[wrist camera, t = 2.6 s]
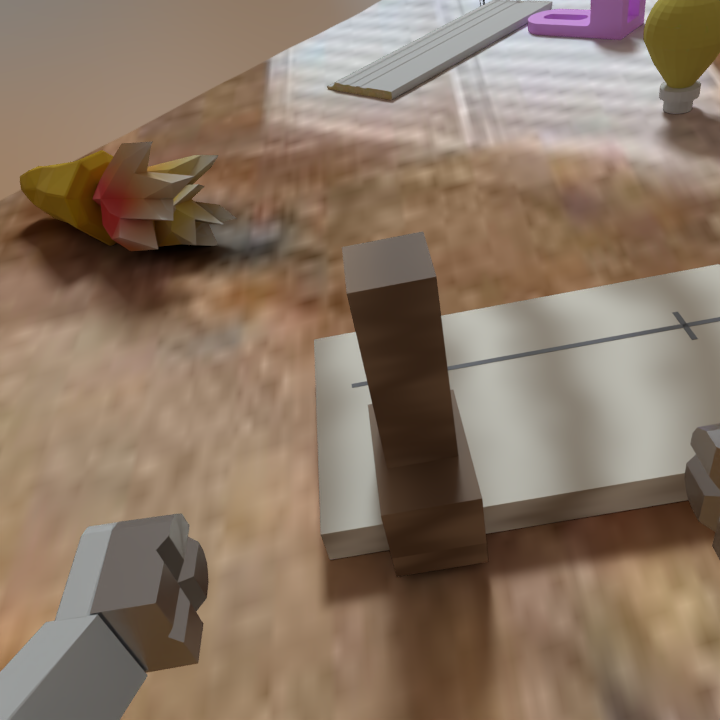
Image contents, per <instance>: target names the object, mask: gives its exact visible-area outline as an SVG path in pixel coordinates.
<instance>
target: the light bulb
mask: <svg viewBox="0 0 720 720" xmlns="http://www.w3.org/2000/svg"><path fill="white" fill-rule="evenodd" d="M643 40H644V42H645V44H646V47H647V49H648V52H649V54H650V56H651V59H652V61H653V63H654V65H655V66H656V68H657V69H658V71H659V73H660V74H661V76H662V77H663V79H664V80H665V82H663V83H662V84H661V86H660V93H659V98H660V99H661V100H663V101H664V104H663V110H664V111H665V112H667V113H671V114H681V113H686V112H689V111H690V110H691V109H692V105H693V100H694V99H696V98H698V97H699V94H700V87H701V83H700V82H699V81H697V80H698V79H699V77H700V76H701V75H702V74H703V73H704V72H705V70H706V69H707V68H708V67H709V66H710V65H711V64H712V62H713V61H714V60H715V59H716V57H717V56H718V54H719V53H720V0H658V1H657V3H656V4H655V5H654V7H653V8H652V10H651V12H650V14H649V16H648V18H647V21H646V24H645V27H644V38H643Z"/></svg>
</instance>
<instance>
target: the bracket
mask: <svg viewBox="0 0 720 720" xmlns="http://www.w3.org/2000/svg"><path fill="white" fill-rule="evenodd" d="M645 1H646V0H591V10H578V9H553V10H546V11H542V12H539V13H536V14H533V15H531V16H530V17H529V18H528V31H529V32H530V33H532V34H536V35H550V36H567V37H583V38H599V39H616V40H621V39H622V38H624V37H625V36H626V35H628V34H629V33H631V32H632V31H633V30H635V29H636V28H638V27H639V26H641V25H642V24H643V23H644V12H645Z"/></svg>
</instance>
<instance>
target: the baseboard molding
mask: <svg viewBox="0 0 720 720" xmlns="http://www.w3.org/2000/svg"><path fill="white" fill-rule="evenodd" d="M484 1H485V0H483V2H484ZM551 9H552V2H549V1H520V0H516V1H510V0H493V1H491V2H489V3H486V4H485V2H484V3H483V5H482V6H481V3H480V7H478V8H477V9H475V10H473V11H471V12H469V13H467V14H465V15H463V16H461V17H459V18H457V19H455V20H453V21H452V22H450V23H448V24H446V25H444V26H442V27H440V28H438V29H436V30H434V31H432V32H430V33H428V34H427V35H425V36H423V37H421V38H419V39H417V40H415V41H413V42H411V43H409V44H407V45H405V46H403V47H402V48H400V49H398V50H396V51H394V52H392V53H390V54H388V55H386V56H384V57H382V58H380V59H378V60H377V61H375V62H373V63H371V64H369V65H367V66H365V67H363V68H361V69H359V70H357V71H355V72H353V73H352V74H350V75H348V76H346V77H344V78H342V79H340V80H338V81H336V82H334V83H332V84H330V85H328V86H327V88H328V89H331V90H337V91H342V92H348V93H354V94H360V95H365V96H371V97H377V98H382V99H388V100H392V99H394V98H396V97H398V96H400V95H401V94H403V93H405V92H407V91H408V90H410V89H412V88H414V87H415V86H417V85H419V84H421V83H423V82H424V81H426V80H428V79H430V78H431V77H433V76H435V75H437V74H438V73H440V72H442V71H444V70H445V69H447V68H449V67H451V66H453V65H454V64H456V63H458V62H460V61H461V60H463V59H465V58H467V57H468V56H470V55H472V54H474V53H476V52H477V51H479V50H481V49H483V48H484V47H486V46H488V45H490V44H491V43H493V42H495V41H497V40H499V39H500V38H502V37H504V36H506V35H507V34H509V33H511V32H513V31H514V30H516V29H518V28H520V27H521V26H523V25H525V24H527V23H528V18H529V17H530V16H531V15H533V14H536V13H539V12H542V11H546V10H551Z"/></svg>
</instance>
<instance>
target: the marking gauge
mask: <svg viewBox="0 0 720 720" xmlns="http://www.w3.org/2000/svg"><path fill="white" fill-rule="evenodd" d="M342 252H343V262H344V271H345V281H346V291H347V297H348V301H349V305H350V310H351V314H352V318H353V323H354V327H355V331H356V336H357V340H358V344H359V349H360V353H361V357H362V362H363V366H364V370H365V374H366V379H367V383H368V387H369V392H370V396H371V400H372V404H369V405H368V411H369V420H370V428H371V437H372V445H373V454H374V462H375V471H376V479H377V488H378V496H379V505H380V513H381V518H382V522H383V526H384V530H385V534H386V538H387V542H388V545H389V549H390V553H391V557H392V561H393V565H394V569H395V573H396V576H397V577H398V576H405V575H411V574H417V573H423V572H429V571H435V570H441V569H447V568H453V567H459V566H465V565H471V564H477V563H484V562H488V552H487V542H486V532H485V521H484V511H483V500H482V495H481V492H480V488H479V484H478V480H477V477H476V473H475V469H474V465H473V461H472V458H471V454H470V450H469V446H468V443H467V439H466V435H465V431H464V427H463V424H462V420H461V416H460V412H459V409H458V405H457V401H456V397H455V394H454V390H453V389H452V390H450V383H449V375H448V367H447V359H446V351H445V343H444V335H443V327H442V319H441V311H440V303H439V295H438V287H437V279H436V274H435V271H434V267H433V264H432V260H431V257H430V254H429V250H428V247H427V243H426V240H425V236H424V233H423V232H418V233H413V234H408V235H403V236H398V237H393V238H387V239H382V240H377V241H372V242H367V243H362V244H356V245H351V246H346V247H342Z"/></svg>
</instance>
